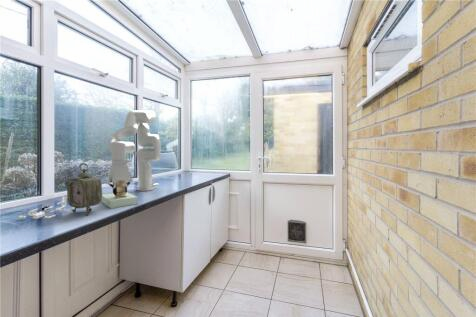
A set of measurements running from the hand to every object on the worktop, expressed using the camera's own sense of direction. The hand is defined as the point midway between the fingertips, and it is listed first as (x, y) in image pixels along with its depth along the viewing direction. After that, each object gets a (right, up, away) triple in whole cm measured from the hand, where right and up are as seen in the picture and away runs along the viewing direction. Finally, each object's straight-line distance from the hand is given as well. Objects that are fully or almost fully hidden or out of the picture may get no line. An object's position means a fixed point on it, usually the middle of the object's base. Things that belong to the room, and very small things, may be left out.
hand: (120, 194), depth 132 cm
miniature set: (-23, -7, -13) cm, 27 cm away
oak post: (0, -3, 0) cm, 3 cm away
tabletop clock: (-8, -7, -17) cm, 20 cm away
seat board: (-2, -6, +3) cm, 7 cm away
